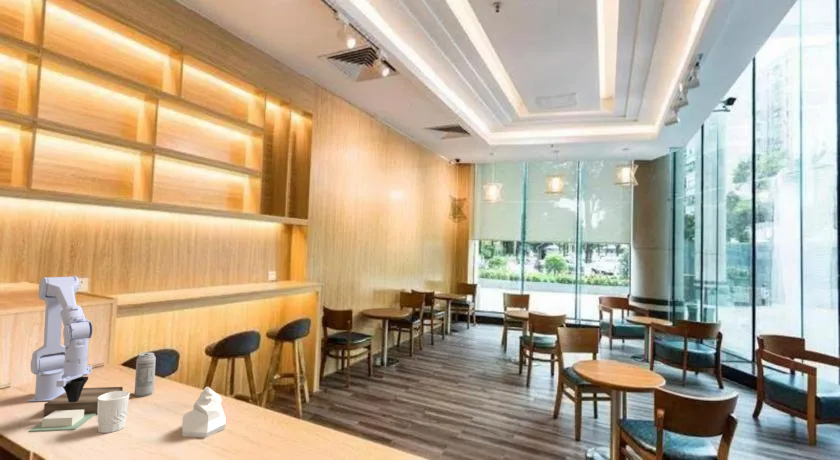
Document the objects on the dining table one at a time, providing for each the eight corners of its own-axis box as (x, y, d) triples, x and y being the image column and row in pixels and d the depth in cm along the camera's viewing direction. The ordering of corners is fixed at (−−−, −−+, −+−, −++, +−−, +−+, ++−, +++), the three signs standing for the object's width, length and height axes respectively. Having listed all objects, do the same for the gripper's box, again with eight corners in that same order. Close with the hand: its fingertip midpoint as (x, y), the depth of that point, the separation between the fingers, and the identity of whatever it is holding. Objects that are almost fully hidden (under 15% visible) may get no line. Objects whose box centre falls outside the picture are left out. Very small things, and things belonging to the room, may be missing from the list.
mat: (53, 416, 130) (53, 415, 130) (95, 414, 133) (95, 413, 133) (28, 432, 120) (28, 430, 120) (74, 429, 122) (74, 428, 122)
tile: (41, 418, 122) (41, 427, 122) (72, 417, 124) (71, 425, 124) (55, 410, 128) (55, 418, 128) (84, 409, 130) (83, 417, 130)
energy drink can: (155, 390, 155) (157, 351, 155) (151, 396, 149) (153, 355, 150) (137, 392, 153) (139, 352, 153) (132, 398, 147) (134, 356, 148)
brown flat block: (71, 399, 144) (72, 388, 144) (122, 397, 147) (122, 386, 147) (43, 416, 130) (44, 404, 130) (99, 414, 133) (100, 402, 133)
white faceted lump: (239, 427, 131) (245, 388, 128) (193, 451, 118) (199, 408, 115) (216, 408, 137) (222, 371, 134) (170, 429, 124) (176, 388, 121)
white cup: (92, 436, 119) (94, 402, 119) (99, 425, 126) (101, 392, 126) (125, 431, 122) (127, 398, 123) (129, 420, 129) (131, 389, 130)
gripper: (76, 365, 125) (73, 410, 124) (102, 352, 139) (100, 392, 138) (49, 366, 123) (46, 411, 123) (79, 353, 137) (77, 393, 137)
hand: (73, 401), depth 131 cm, fingers closed
